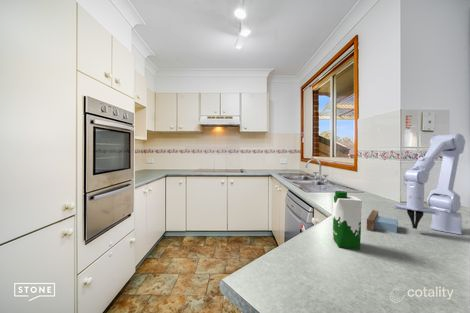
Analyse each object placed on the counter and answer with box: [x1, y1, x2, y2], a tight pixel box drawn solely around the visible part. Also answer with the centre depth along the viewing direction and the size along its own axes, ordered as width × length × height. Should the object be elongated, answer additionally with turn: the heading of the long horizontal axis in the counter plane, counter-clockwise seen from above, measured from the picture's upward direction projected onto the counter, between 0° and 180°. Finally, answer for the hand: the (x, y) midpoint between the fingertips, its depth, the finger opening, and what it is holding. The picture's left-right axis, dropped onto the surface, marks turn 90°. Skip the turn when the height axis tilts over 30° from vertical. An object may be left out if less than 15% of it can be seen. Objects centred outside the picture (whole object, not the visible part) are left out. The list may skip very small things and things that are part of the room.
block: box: [374, 215, 399, 234], centre depth 95 cm, size 8×10×4 cm
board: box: [366, 209, 379, 232], centre depth 99 cm, size 2×20×5 cm, turn 140°
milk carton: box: [332, 190, 363, 251], centre depth 77 cm, size 9×9×20 cm
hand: (414, 227), depth 89 cm, fingers closed
